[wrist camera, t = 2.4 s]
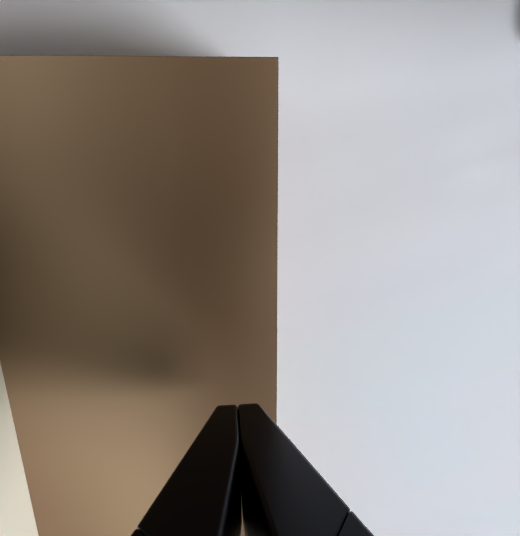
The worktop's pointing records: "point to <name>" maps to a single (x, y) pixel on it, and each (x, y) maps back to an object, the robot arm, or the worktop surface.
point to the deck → (132, 269)
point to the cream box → (12, 477)
